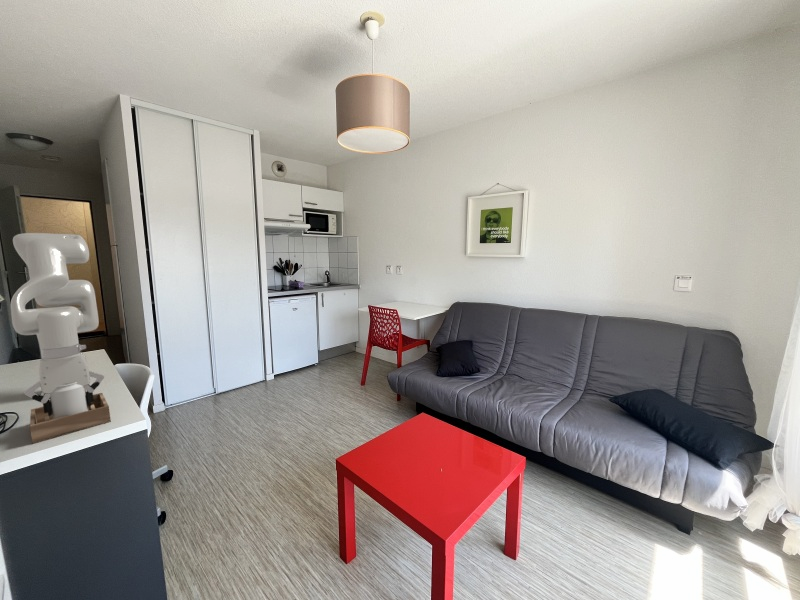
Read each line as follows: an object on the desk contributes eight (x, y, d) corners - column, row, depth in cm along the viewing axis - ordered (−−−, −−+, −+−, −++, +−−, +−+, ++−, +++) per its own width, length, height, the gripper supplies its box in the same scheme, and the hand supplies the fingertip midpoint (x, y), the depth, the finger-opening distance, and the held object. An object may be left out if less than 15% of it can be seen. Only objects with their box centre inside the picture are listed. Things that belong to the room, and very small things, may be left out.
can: (96, 414, 101) (90, 377, 99) (69, 426, 93) (63, 386, 92) (74, 413, 102) (68, 376, 100) (46, 426, 94) (39, 386, 93)
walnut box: (33, 424, 99) (30, 409, 98) (104, 406, 111) (102, 392, 110) (32, 444, 88) (29, 426, 88) (110, 421, 100) (108, 406, 99)
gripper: (100, 343, 104) (107, 396, 106) (16, 356, 91) (26, 416, 93) (103, 347, 99) (110, 403, 101) (15, 361, 86) (25, 424, 88)
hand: (70, 409), depth 97 cm, fingers open, 7 cm apart
